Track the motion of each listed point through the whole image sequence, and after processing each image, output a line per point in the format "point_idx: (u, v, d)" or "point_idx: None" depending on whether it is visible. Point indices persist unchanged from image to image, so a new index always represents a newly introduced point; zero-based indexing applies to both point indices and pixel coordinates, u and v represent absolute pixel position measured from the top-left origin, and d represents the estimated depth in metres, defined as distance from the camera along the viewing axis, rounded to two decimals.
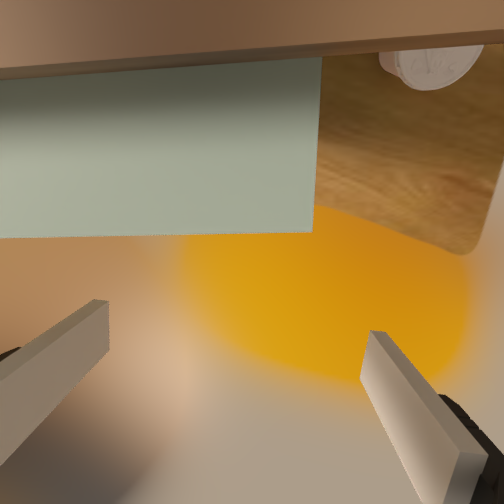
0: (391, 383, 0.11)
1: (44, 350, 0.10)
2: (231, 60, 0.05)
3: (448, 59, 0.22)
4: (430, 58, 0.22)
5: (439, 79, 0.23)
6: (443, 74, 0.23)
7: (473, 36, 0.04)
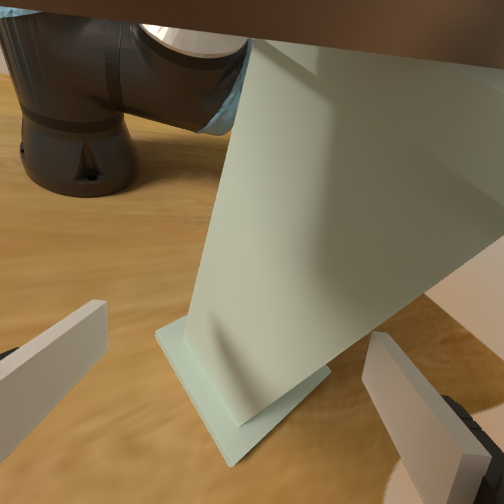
0: (393, 384, 0.11)
1: (42, 351, 0.10)
2: None
3: None
4: None
5: None
6: None
7: None
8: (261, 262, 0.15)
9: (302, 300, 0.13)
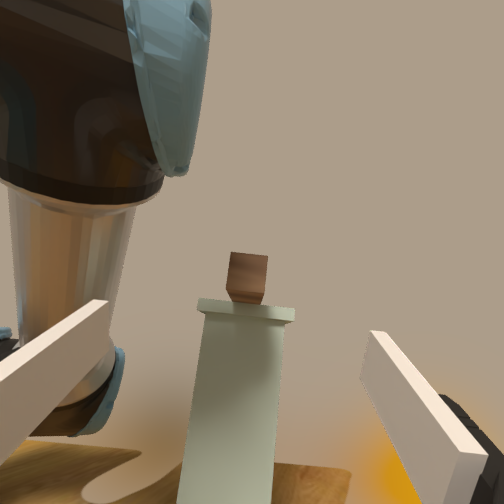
0: (391, 383, 0.11)
1: (44, 350, 0.10)
2: None
3: None
4: None
5: None
6: None
7: None
8: (232, 390, 0.33)
9: (256, 388, 0.34)
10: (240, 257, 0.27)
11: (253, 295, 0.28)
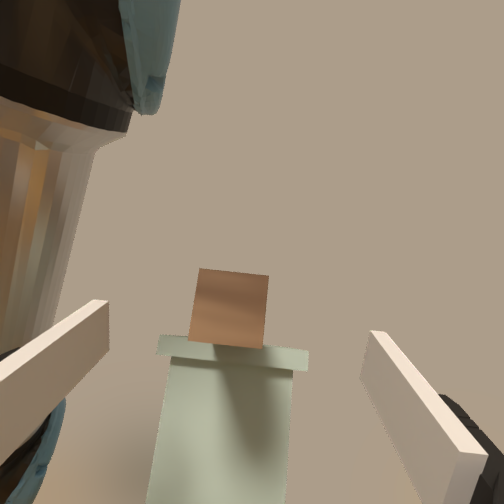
0: (391, 383, 0.11)
1: (44, 350, 0.10)
2: None
3: None
4: None
5: None
6: None
7: None
8: (210, 486, 0.21)
9: (249, 482, 0.21)
10: (216, 279, 0.14)
11: None
